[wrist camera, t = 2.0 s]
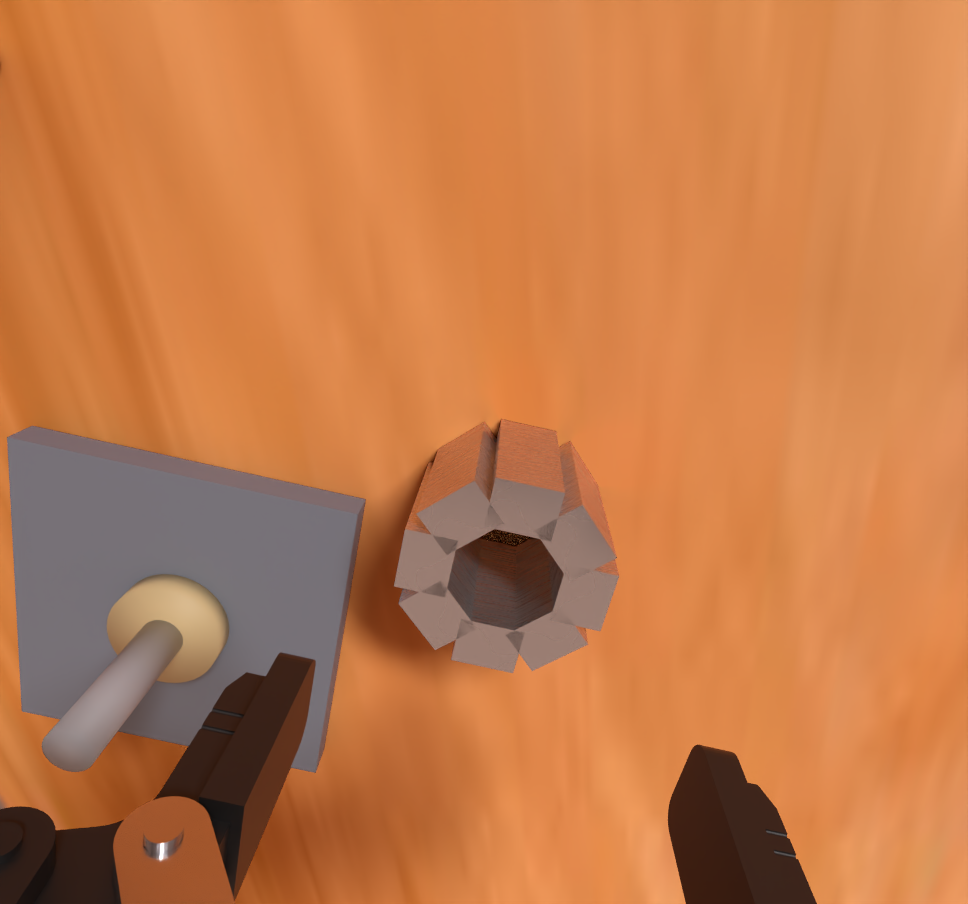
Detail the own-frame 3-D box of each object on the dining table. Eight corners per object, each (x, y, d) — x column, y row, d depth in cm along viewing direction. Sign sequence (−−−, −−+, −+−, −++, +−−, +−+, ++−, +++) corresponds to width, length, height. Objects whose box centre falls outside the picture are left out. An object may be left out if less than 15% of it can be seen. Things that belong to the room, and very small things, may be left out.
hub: (440, 405, 22) (418, 460, 17) (616, 445, 22) (641, 509, 18) (409, 559, 24) (382, 645, 20) (569, 594, 24) (581, 687, 20)
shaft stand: (32, 425, 23) (-176, 521, 16) (365, 499, 23) (300, 623, 17) (42, 690, 28) (-119, 854, 21) (324, 749, 28) (258, 930, 21)
